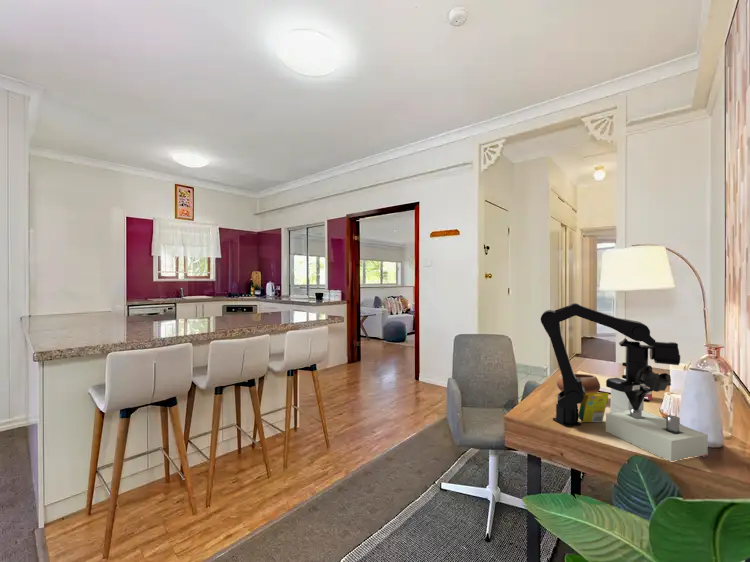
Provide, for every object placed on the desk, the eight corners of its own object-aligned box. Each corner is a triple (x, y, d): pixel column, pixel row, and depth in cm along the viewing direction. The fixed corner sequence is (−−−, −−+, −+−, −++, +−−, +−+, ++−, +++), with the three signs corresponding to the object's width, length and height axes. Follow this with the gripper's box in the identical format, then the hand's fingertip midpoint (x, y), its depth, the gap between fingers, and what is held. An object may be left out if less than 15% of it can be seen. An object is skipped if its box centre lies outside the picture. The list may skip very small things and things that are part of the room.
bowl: (577, 389, 159) (578, 367, 158) (609, 402, 144) (609, 377, 143) (548, 392, 155) (548, 369, 154) (577, 405, 139) (578, 380, 139)
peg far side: (674, 439, 102) (674, 419, 101) (663, 435, 104) (663, 415, 104) (681, 438, 102) (682, 418, 102) (670, 433, 105) (671, 414, 105)
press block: (671, 462, 97) (671, 440, 97) (605, 431, 116) (606, 413, 116) (707, 455, 101) (707, 434, 101) (638, 426, 120) (638, 409, 120)
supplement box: (628, 419, 126) (629, 384, 126) (609, 411, 133) (610, 378, 133) (644, 417, 128) (644, 382, 128) (624, 410, 135) (625, 377, 135)
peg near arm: (636, 429, 112) (636, 411, 112) (627, 425, 115) (627, 408, 115) (643, 428, 113) (644, 410, 113) (634, 424, 116) (634, 407, 116)
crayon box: (597, 417, 126) (604, 388, 123) (602, 422, 123) (610, 393, 120) (577, 416, 126) (583, 387, 123) (582, 422, 123) (589, 392, 120)
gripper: (639, 369, 103) (638, 422, 104) (685, 365, 108) (684, 416, 109) (605, 360, 114) (604, 408, 114) (648, 357, 119) (647, 403, 119)
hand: (635, 409), depth 114 cm, fingers closed, pressing on peg near arm
